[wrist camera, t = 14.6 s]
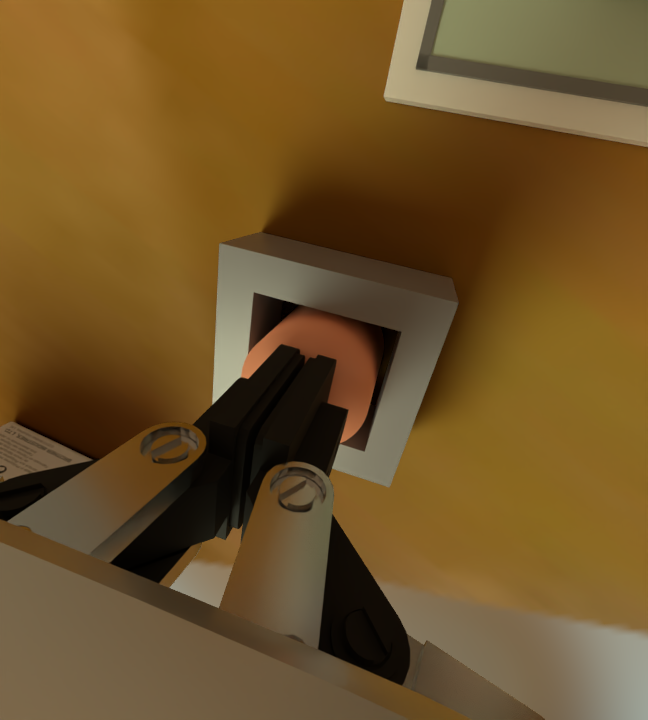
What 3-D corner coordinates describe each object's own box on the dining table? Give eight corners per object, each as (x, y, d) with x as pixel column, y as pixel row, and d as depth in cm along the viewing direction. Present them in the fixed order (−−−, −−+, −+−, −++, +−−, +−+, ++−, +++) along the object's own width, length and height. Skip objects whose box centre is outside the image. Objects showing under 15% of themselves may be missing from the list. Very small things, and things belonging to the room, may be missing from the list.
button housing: (452, 278, 12) (459, 302, 10) (395, 436, 15) (389, 487, 13) (260, 232, 13) (219, 243, 11) (245, 390, 16) (211, 428, 14)
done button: (396, 308, 13) (385, 353, 10) (370, 398, 15) (352, 463, 11) (292, 281, 14) (246, 314, 10) (279, 372, 16) (236, 426, 12)
